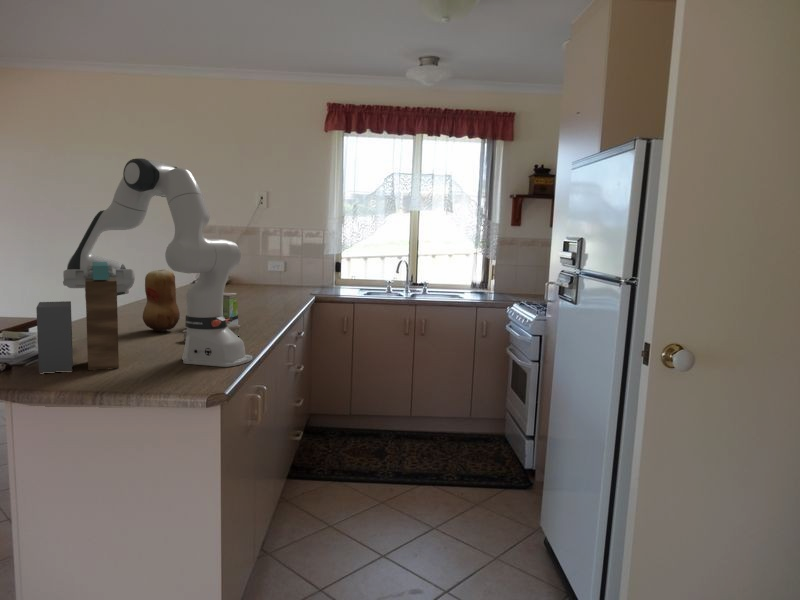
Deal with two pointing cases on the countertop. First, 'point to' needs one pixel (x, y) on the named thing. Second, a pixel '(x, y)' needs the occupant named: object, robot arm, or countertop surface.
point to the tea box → (230, 307)
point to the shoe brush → (232, 327)
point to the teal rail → (100, 271)
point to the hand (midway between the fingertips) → (99, 267)
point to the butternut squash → (160, 301)
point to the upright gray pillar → (54, 336)
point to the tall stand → (102, 323)
